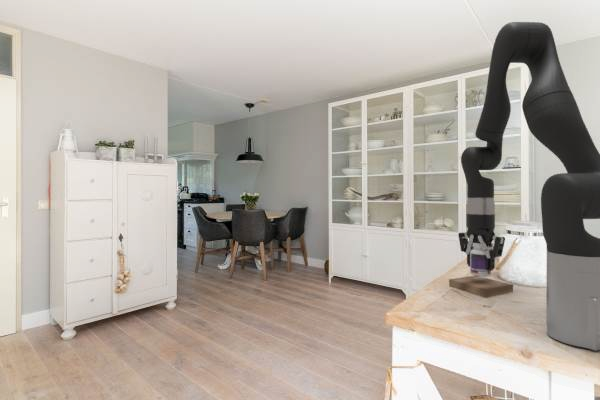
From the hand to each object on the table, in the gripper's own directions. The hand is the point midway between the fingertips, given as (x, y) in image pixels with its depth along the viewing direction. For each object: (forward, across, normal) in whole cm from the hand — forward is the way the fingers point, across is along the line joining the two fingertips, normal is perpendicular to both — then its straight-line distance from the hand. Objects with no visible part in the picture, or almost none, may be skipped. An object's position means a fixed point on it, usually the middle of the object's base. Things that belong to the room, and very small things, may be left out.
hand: (480, 268), depth 96 cm
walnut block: (+7, 0, 0) cm, 7 cm away
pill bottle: (+2, 0, 0) cm, 2 cm away
